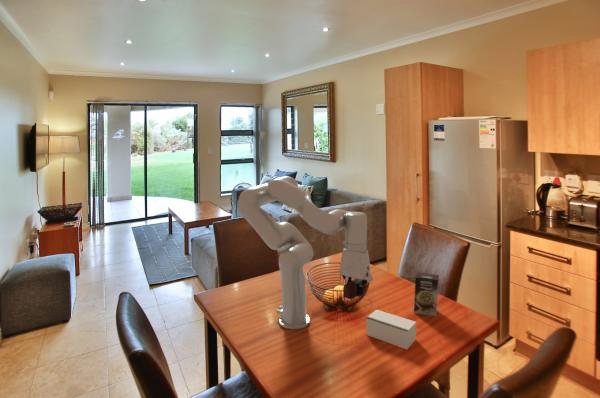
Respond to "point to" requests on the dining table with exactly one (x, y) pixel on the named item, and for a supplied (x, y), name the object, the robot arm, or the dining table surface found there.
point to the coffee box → (426, 294)
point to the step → (391, 329)
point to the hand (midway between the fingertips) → (355, 293)
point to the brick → (352, 289)
